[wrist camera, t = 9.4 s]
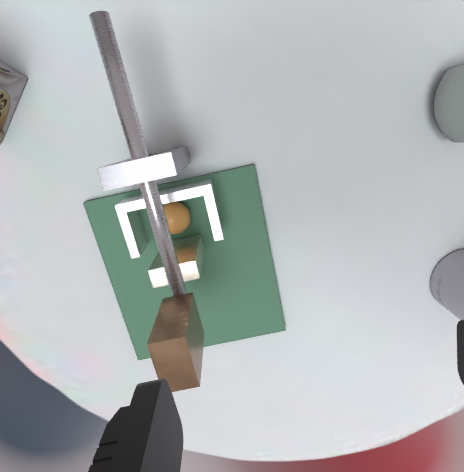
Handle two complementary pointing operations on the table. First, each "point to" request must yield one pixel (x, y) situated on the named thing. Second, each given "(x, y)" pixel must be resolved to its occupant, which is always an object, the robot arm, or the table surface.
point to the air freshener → (451, 104)
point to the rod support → (144, 168)
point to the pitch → (213, 264)
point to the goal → (130, 205)
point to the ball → (176, 217)
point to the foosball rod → (159, 241)
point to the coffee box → (9, 95)
